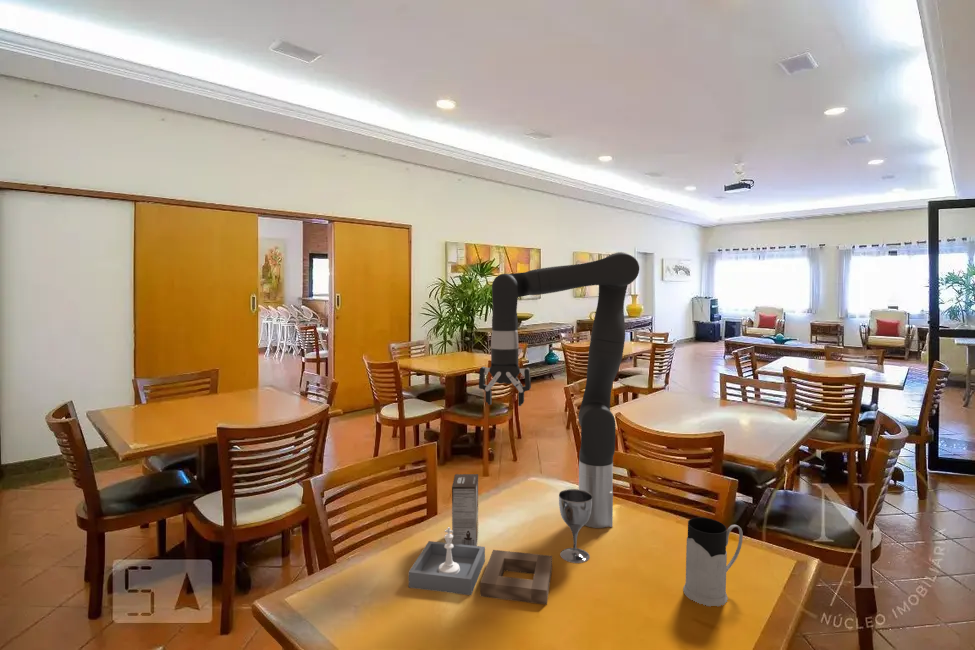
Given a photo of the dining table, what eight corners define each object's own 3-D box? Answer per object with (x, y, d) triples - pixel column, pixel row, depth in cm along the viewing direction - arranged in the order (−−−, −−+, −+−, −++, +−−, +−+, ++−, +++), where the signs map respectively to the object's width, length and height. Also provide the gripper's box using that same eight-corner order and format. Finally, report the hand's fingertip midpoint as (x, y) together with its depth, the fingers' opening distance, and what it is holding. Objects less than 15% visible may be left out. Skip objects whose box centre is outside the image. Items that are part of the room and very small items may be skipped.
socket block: (552, 568, 117) (552, 555, 117) (546, 604, 103) (546, 590, 103) (493, 561, 120) (493, 549, 120) (480, 596, 106) (480, 582, 106)
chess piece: (456, 577, 112) (456, 533, 111) (435, 574, 113) (435, 531, 112) (462, 565, 117) (461, 523, 116) (441, 563, 118) (441, 521, 117)
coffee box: (454, 531, 135) (454, 473, 134) (478, 532, 135) (478, 473, 134) (451, 549, 126) (451, 486, 125) (477, 549, 126) (477, 486, 125)
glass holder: (674, 586, 110) (675, 519, 109) (724, 574, 115) (726, 509, 114) (704, 610, 101) (706, 538, 100) (757, 595, 106) (759, 526, 105)
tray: (484, 561, 120) (484, 546, 120) (471, 595, 107) (471, 579, 106) (429, 554, 123) (428, 541, 123) (408, 587, 109) (408, 571, 109)
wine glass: (553, 558, 121) (554, 498, 120) (564, 544, 128) (565, 486, 127) (585, 567, 117) (586, 504, 117) (595, 551, 125) (596, 492, 124)
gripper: (532, 345, 141) (531, 403, 142) (482, 344, 144) (482, 401, 145) (528, 348, 133) (528, 409, 134) (476, 347, 136) (476, 406, 137)
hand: (504, 404), depth 140 cm, fingers open, 8 cm apart
